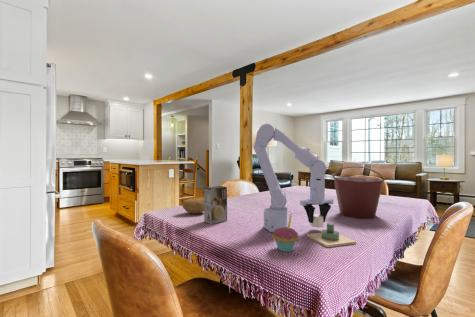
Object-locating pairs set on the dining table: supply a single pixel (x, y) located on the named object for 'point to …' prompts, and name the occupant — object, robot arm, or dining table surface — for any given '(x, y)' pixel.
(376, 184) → the bucket
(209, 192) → the coffee box
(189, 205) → the potato
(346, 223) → the dining table surface
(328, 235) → the beige square tray
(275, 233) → the cupcake
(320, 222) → the cap
